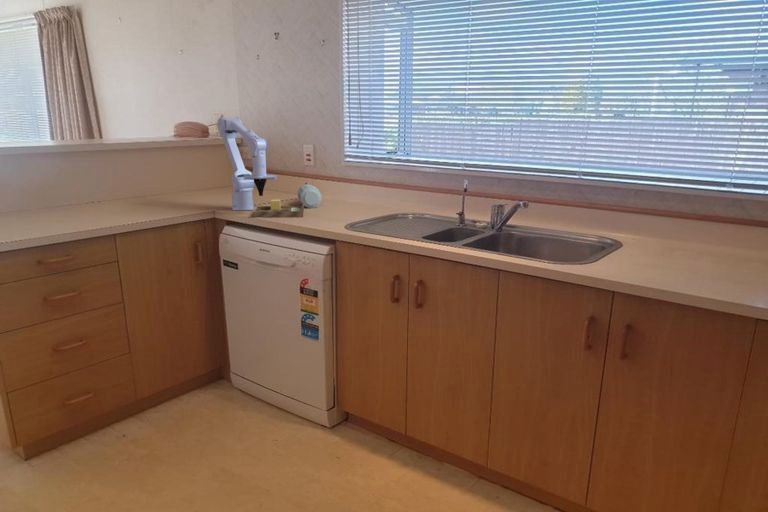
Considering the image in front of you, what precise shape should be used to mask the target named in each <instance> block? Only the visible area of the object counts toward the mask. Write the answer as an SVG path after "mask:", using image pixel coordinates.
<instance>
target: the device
mask: <svg viewBox="0 0 768 512" xmlns="http://www.w3.org/2000/svg"><path fill="white" fill-rule="evenodd" d="M298 189H299V190H298V191H297V198H298V200H299V202H300V203H301V204H302V203H304V207H305V208H307V209H315V208H317V207H318V206H320V204H321V202H322V193H321V192H320V191H321V190H319V188H317V187H316V186H314V185H313V184H311V183H310V184H309V183H307V182H304V184H303V185H302V186H300V188H298Z"/></svg>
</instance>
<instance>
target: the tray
mask: <svg viewBox="0 0 768 512" xmlns="http://www.w3.org/2000/svg"><path fill="white" fill-rule="evenodd" d="M304 212H305V206H304V203H301V205H281V208H280V210H271V205H270V206H269V205H268V206H267V205H266V206H265V205H263V206H262V205H261V206H258V205H257V206H256V208H255V211H253V218H254V217H265V218H303V217H304Z"/></svg>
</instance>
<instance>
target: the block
mask: <svg viewBox="0 0 768 512" xmlns="http://www.w3.org/2000/svg"><path fill="white" fill-rule="evenodd" d="M270 206H271V210H280V208H281V206H282V204H281V199H271V200H270Z"/></svg>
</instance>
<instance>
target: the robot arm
mask: <svg viewBox="0 0 768 512" xmlns="http://www.w3.org/2000/svg"><path fill="white" fill-rule="evenodd" d="M216 127H217V130H218V132H219V136H220V137H221V138H222V140H223V144H224V146H225V149H226V153H227V154H228V158H229V160H230V163H231V167H232V170H233V173H232V174H231V177H230V180H231V185H232V189H234V190H232V192H231V203H232V204H231V206H232V211H253V210H254V209H255V208H256V207H255V206H254V203H253V199H254V198H253V191H254V188H255V187H256V190H257V192H258V197H263V196H264V189H265V186H266V183H267V180H270V181H272V180H273V181H277V177H278V176H277V174H276V175H275V174H267V160H266V159H267V158H266V157H267V156H266V152H267V150H268V146H269V145H268V141H267V139H266V138H264V137H259V135H257V134H256V133H255V132H254V131H253V129H247V128H246V127H245V126H244V124H243V122H242V119H241V118H240V117H239V116H235V117H227V116H226V117H224V116H223V117H222V116H221V117H220V116H219V118H218V119H217V124H216ZM239 135H241V137H242V140H243V141H244V142H245V143H246V144H247V145H248V146H249V150H250V155H251V156H252V167H253V168H252V171H253V174H252V172H251V171H249V170H248V169H246V166H245V164H244V161H243V159H242V156H241V153H240V150H239V147H238V145H237V142H236V138H237V137H238V136H239Z"/></svg>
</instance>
